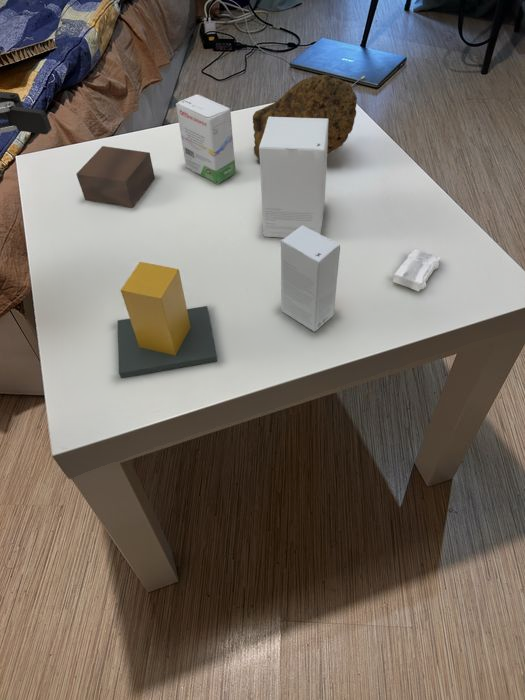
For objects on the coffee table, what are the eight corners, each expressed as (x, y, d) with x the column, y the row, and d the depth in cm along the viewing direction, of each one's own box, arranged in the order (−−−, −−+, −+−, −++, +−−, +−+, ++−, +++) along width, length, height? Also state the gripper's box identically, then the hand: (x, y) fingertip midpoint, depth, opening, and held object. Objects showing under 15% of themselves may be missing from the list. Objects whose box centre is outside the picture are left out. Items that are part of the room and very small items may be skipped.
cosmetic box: (334, 315, 70) (342, 244, 61) (314, 333, 68) (319, 262, 59) (300, 294, 73) (302, 223, 63) (279, 311, 71) (279, 240, 61)
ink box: (237, 173, 93) (232, 107, 84) (217, 185, 90) (209, 118, 81) (204, 156, 96) (196, 91, 87) (184, 167, 94) (173, 102, 85)
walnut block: (84, 200, 89) (75, 173, 85) (109, 171, 94) (102, 145, 90) (132, 208, 87) (125, 181, 83) (155, 178, 92) (149, 152, 88)
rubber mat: (120, 378, 64) (118, 373, 64) (119, 325, 70) (117, 320, 69) (217, 361, 66) (216, 356, 65) (207, 310, 71) (207, 305, 70)
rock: (295, 176, 104) (384, 119, 92) (271, 191, 95) (366, 131, 83) (261, 114, 101) (348, 47, 89) (232, 124, 92) (325, 51, 80)
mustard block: (139, 347, 66) (120, 290, 58) (155, 319, 69) (139, 261, 61) (175, 355, 65) (161, 298, 57) (190, 327, 68) (178, 268, 60)
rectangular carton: (324, 206, 85) (331, 116, 74) (320, 241, 80) (326, 149, 68) (269, 203, 87) (267, 114, 75) (261, 237, 81) (257, 146, 69)
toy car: (388, 284, 73) (391, 272, 72) (411, 252, 77) (414, 240, 76) (420, 296, 72) (423, 284, 70) (441, 263, 76) (445, 251, 74)
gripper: (-50, 126, 60) (73, 143, 57) (-144, 195, 52) (-6, 221, 48) (-85, 57, 55) (50, 71, 51) (-197, 122, 46) (-45, 145, 43)
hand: (23, 144), depth 50 cm, fingers open, 8 cm apart
